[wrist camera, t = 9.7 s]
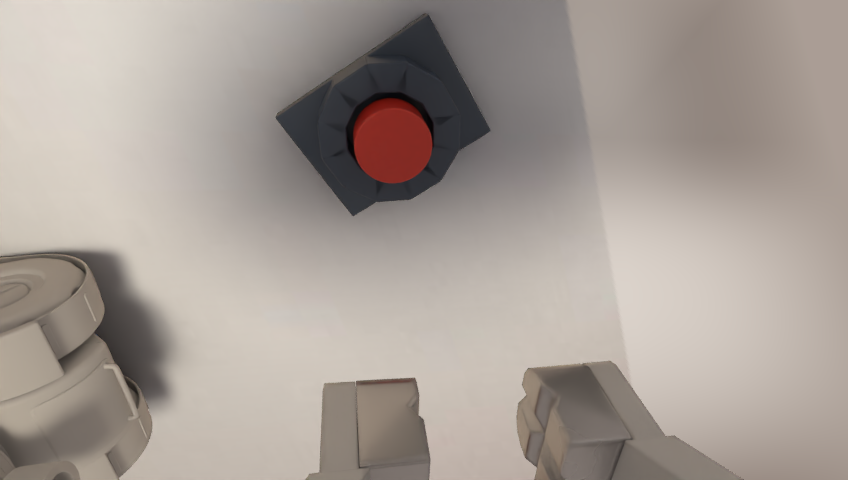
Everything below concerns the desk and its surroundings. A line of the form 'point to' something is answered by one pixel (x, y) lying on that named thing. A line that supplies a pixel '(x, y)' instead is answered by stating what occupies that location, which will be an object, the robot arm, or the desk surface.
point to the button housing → (376, 79)
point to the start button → (391, 140)
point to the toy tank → (62, 378)
